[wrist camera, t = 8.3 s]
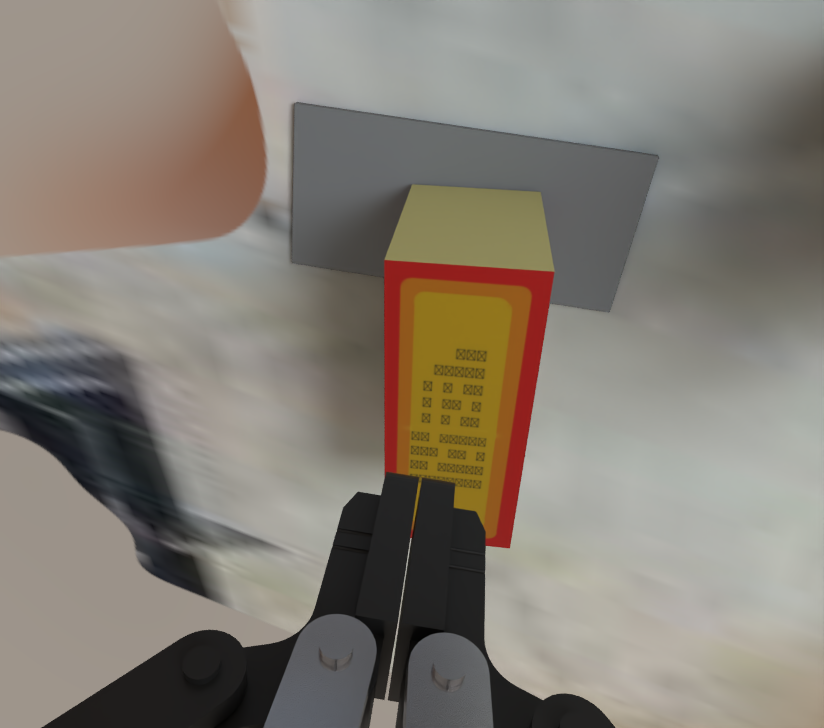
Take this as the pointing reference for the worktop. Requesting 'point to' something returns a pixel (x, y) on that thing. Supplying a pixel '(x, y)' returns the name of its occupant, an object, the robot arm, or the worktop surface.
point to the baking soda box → (465, 342)
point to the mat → (461, 167)
